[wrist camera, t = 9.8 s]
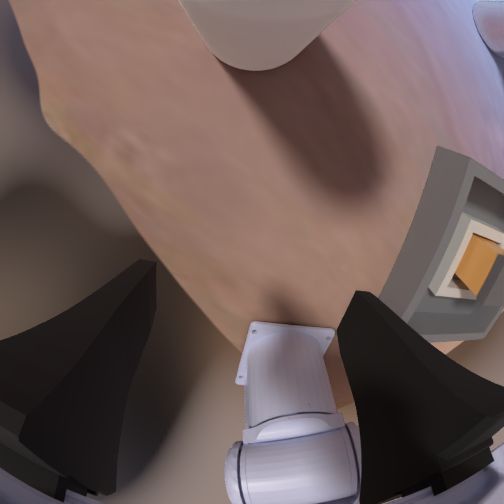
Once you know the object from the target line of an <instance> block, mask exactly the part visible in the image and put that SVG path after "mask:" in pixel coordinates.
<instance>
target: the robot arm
mask: <svg viewBox="0 0 504 504" xmlns="http://www.w3.org/2000/svg"><path fill="white" fill-rule="evenodd" d="M156 308H157V307H156V262H153V261H147V260H142V259H139V260H138V261H136V262H135V263H133V264H132V265H131V266H129V267H128V268H127V269H125V270H124V271H123V272H121V273H120V274H119V275H117V276H116V277H115V278H113V279H112V280H111V281H109V282H108V283H107V284H105V285H104V286H103V287H101V288H100V289H98V290H97V291H95V292H94V293H92V294H91V295H90V296H88V297H86V298H85V299H84V300H82V301H81V302H79V303H78V304H76V305H74V306H73V307H71V308H70V309H68V310H66V311H64V312H63V313H61V314H59V315H57V316H55V317H54V318H52V319H50V320H48V321H46V322H44V323H41V324H39V325H37V326H35V327H33V328H31V329H29V330H27V331H25V332H22V333H19V334H17V335H14V336H12V337H9V338H6V339H3V340H1V341H0V504H104V503H102V502H99V501H96V500H93V499H90V498H87V497H86V495H87V493H90V494H92V495H95V496H97V495H98V493H100V494H103V495H110V494H112V493H114V492H116V475H117V461H118V452H119V443H120V436H121V430H122V424H123V418H124V412H125V407H126V402H127V398H128V393H129V390H130V386H131V383H132V380H133V377H134V374H135V371H136V369H137V366H138V363H139V361H140V358H141V355H142V353H143V350H144V347H145V345H146V342H147V340H148V337H149V334H150V331H151V328H152V324H153V319H154V316H155V312H156ZM253 330H256V331H253ZM334 335H335V331H334V329H333V328H322V327H309V326H298V325H287V324H277V323H268V322H259V321H254V322H252V323H251V324H250V327H249V331H248V334H247V338H246V342H245V346H244V349H243V353H242V357H241V360H240V364H239V368H238V372H237V375H236V379H235V383H236V384H240V385H245V428H246V429H243V441H236V442H235V443H234V444H233V446H232V447H231V448H230V449H229V451H228V453H227V455H226V460H225V483H226V489H227V493H228V496H229V499H230V501H231V502H232V504H382V503H385V502H388V501H391V500H394V499H397V498H400V497H402V498H400V499H397V500H395V501H392V502H389V503H386V504H504V443H503V444H501V445H500V446H498V447H497V448H495V449H494V450H493V451H490V448H489V447H490V446H491V445H492V444H493V439H492V436H493V435H494V434H495V433H497V432H498V431H499V430H500V429H501V428H502V427H504V387H503V386H501V385H498V384H495V383H493V382H491V381H489V380H487V379H484V378H482V377H480V376H478V375H476V374H475V373H473V372H471V371H469V370H468V369H466V368H464V367H463V366H461V365H459V364H458V363H456V362H455V361H453V360H452V359H450V358H449V357H447V356H446V355H445V354H443V353H442V352H441V351H439V350H438V349H437V348H435V347H434V346H433V345H431V344H430V343H429V342H428V341H427V340H425V339H424V338H423V337H422V336H421V335H419V334H418V333H417V332H416V331H415V330H414V329H412V328H411V327H410V326H409V325H408V324H407V323H406V322H405V321H404V320H402V319H401V318H400V317H399V316H398V315H397V314H396V313H395V312H393V311H392V310H391V309H390V308H389V307H388V306H387V305H386V304H384V303H383V302H382V301H381V300H380V299H378V298H377V297H376V296H374V295H373V294H372V293H370V292H365V291H357V290H356V291H355V294H354V296H353V298H352V300H351V302H350V304H349V306H348V308H347V310H346V312H345V314H344V316H343V318H342V320H341V322H340V324H339V326H338V328H337V336H338V343H339V348H340V354H341V357H342V361H343V364H344V367H345V371H346V374H347V377H348V380H349V384H350V387H351V391H352V394H353V397H354V401H355V405H356V410H357V416H358V423H359V426H357V425H355V423H353V422H350V423H346V424H344V419H343V415H342V413H337V409H336V405H335V401H334V397H333V393H332V389H331V385H330V381H329V377H328V374H327V370H326V366H325V362H324V359H323V356H324V354H325V352H326V350H327V348H328V347H329V345H330V343H331V341H332V339H333V337H334ZM328 336H329V337H328Z"/></svg>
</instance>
